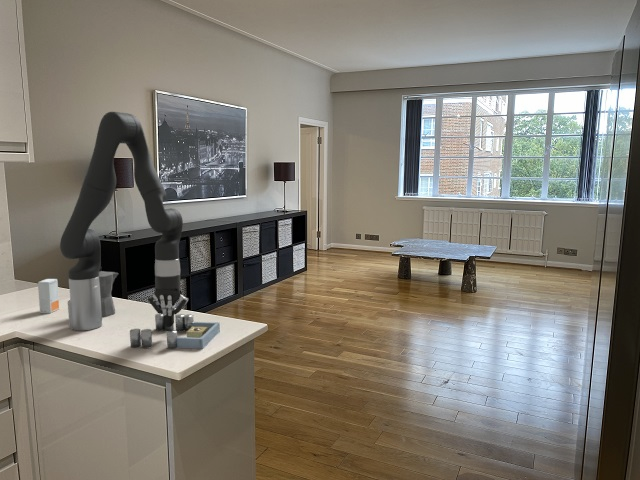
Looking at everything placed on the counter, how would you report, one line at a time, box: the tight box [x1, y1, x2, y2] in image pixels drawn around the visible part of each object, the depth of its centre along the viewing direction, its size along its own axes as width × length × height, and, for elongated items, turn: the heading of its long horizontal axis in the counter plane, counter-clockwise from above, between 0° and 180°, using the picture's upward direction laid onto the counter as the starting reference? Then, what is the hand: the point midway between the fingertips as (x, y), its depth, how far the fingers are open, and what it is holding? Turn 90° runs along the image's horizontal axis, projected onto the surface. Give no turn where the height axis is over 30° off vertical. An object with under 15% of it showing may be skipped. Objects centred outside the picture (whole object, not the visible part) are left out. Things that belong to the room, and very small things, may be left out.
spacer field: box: [129, 313, 195, 350], centre depth 152 cm, size 14×19×5 cm
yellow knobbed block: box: [186, 327, 208, 338], centre depth 151 cm, size 5×5×4 cm
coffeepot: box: [99, 266, 120, 318], centre depth 176 cm, size 15×9×18 cm, turn 129°
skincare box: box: [37, 278, 60, 314], centre depth 181 cm, size 6×4×12 cm
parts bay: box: [176, 321, 221, 350], centre depth 151 cm, size 10×16×3 cm, turn 174°
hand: (169, 326), depth 152 cm, fingers closed
